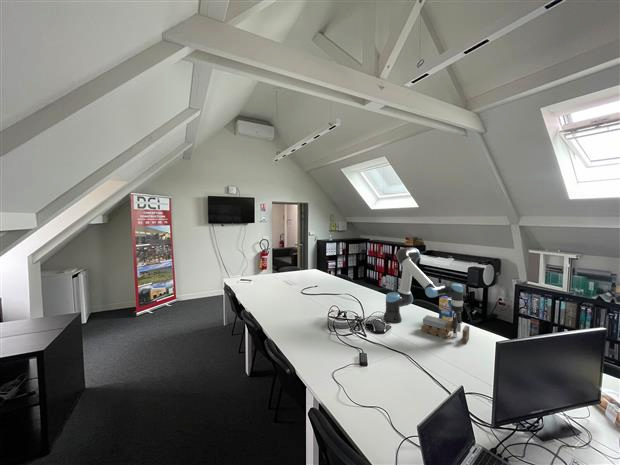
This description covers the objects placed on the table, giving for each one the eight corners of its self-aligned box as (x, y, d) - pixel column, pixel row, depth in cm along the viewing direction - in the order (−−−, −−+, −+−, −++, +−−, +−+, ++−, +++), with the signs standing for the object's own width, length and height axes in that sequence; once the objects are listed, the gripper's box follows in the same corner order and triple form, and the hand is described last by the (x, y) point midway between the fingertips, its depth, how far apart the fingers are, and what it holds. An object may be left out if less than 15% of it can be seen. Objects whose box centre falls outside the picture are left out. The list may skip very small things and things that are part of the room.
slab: (422, 323, 197) (422, 318, 197) (426, 319, 205) (427, 315, 204) (445, 329, 186) (445, 324, 186) (448, 325, 194) (448, 320, 194)
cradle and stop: (446, 338, 186) (447, 325, 185) (450, 334, 193) (450, 321, 193) (466, 344, 178) (466, 330, 177) (469, 339, 185) (469, 326, 184)
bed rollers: (446, 339, 186) (446, 331, 185) (421, 331, 198) (421, 324, 198) (450, 333, 194) (450, 326, 194) (425, 327, 206) (425, 320, 206)
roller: (455, 330, 181) (451, 322, 183) (447, 332, 185) (443, 324, 187) (459, 325, 189) (454, 317, 191) (451, 327, 193) (447, 320, 195)
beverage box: (452, 326, 207) (452, 300, 206) (438, 322, 216) (439, 297, 215) (455, 324, 211) (456, 298, 210) (442, 320, 220) (443, 295, 219)
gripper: (459, 310, 174) (458, 341, 175) (466, 302, 191) (465, 330, 192) (447, 308, 179) (446, 338, 180) (455, 300, 196) (454, 327, 197)
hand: (456, 334), depth 186 cm, fingers closed on roller, 11 cm apart
